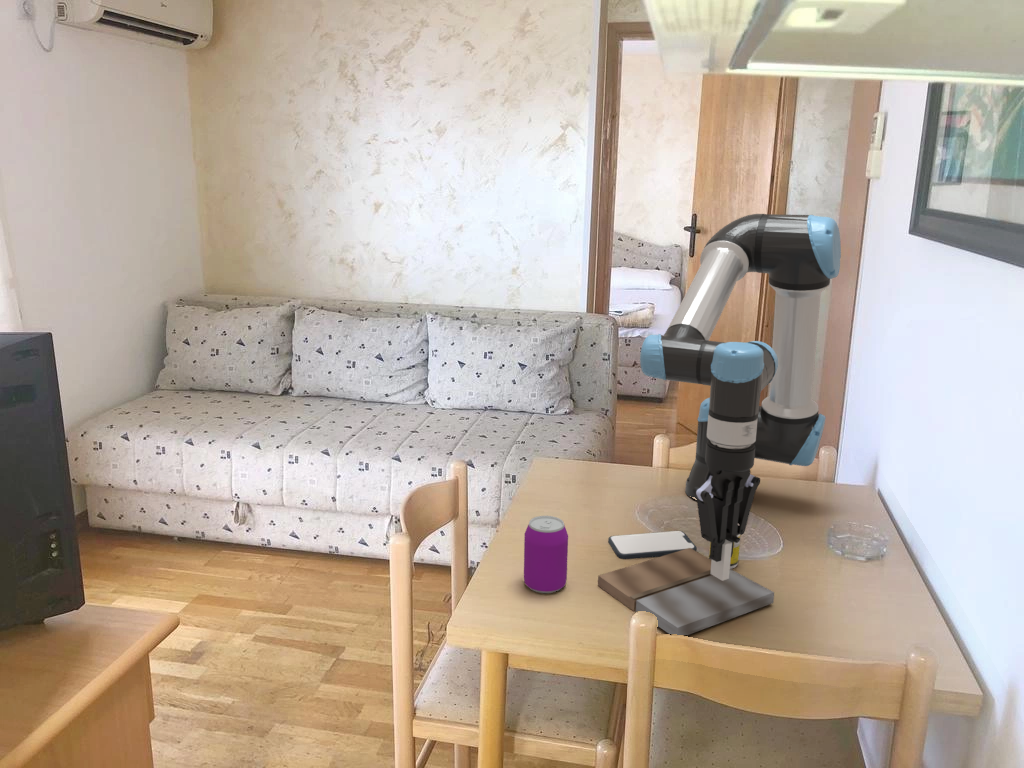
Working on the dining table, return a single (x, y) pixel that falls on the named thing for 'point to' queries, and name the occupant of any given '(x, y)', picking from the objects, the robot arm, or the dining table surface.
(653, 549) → the smartphone
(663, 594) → the grey plank
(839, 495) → the dining table surface
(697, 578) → the walnut floor board
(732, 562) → the supplement bottle
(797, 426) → the robot arm
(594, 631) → the dining table surface
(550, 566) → the beverage can
